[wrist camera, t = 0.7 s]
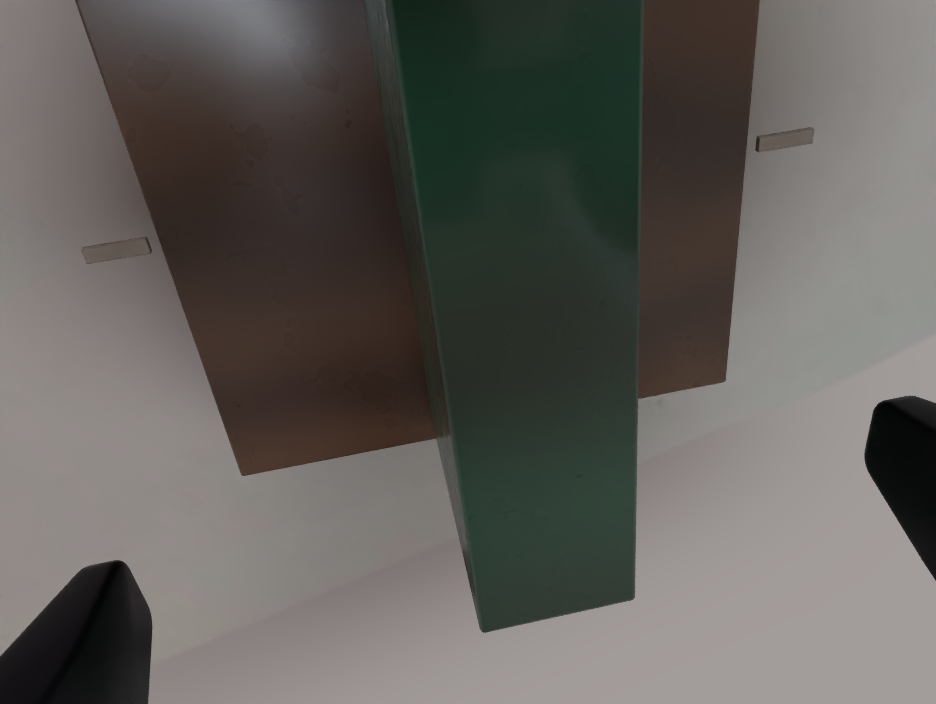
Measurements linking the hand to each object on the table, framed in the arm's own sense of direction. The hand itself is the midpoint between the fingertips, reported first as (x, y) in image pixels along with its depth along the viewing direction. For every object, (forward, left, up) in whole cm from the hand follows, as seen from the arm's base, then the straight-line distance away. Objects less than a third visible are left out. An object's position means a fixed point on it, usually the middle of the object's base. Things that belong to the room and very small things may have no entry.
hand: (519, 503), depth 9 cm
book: (0, -1, -10) cm, 10 cm away
